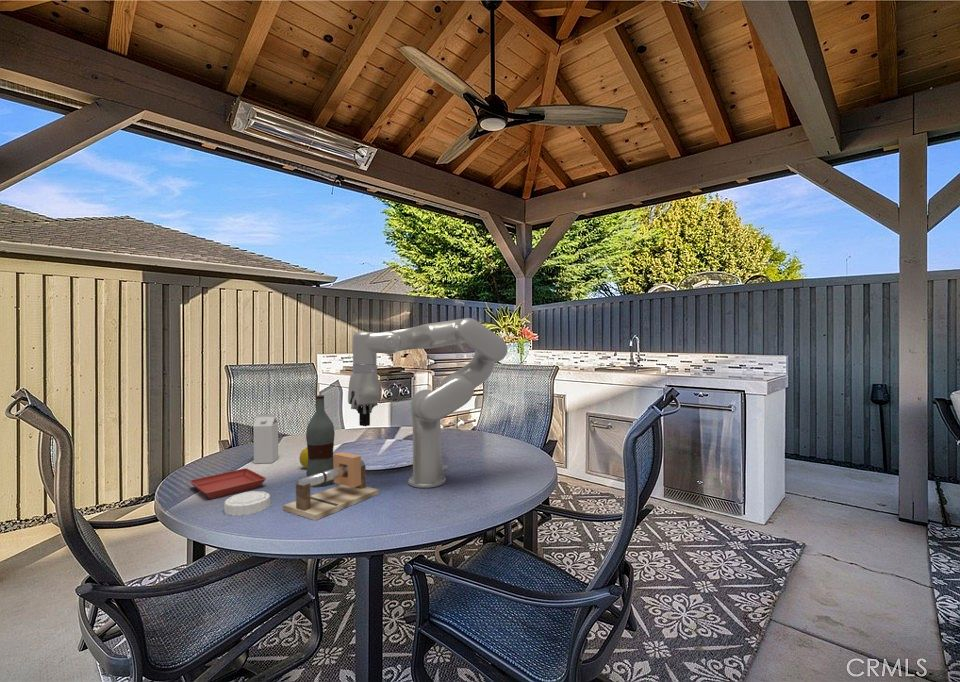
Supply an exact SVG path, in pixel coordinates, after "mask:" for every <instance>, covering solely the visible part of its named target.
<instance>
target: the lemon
mask: <svg viewBox="0 0 960 682" xmlns="http://www.w3.org/2000/svg"><path fill="white" fill-rule="evenodd" d="M299 463H300V465H301V466H302V467H304V468H306V469H307V464H308V450H307V447H305V448H303V449H302V450H301V452H300V455H299Z"/></svg>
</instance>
